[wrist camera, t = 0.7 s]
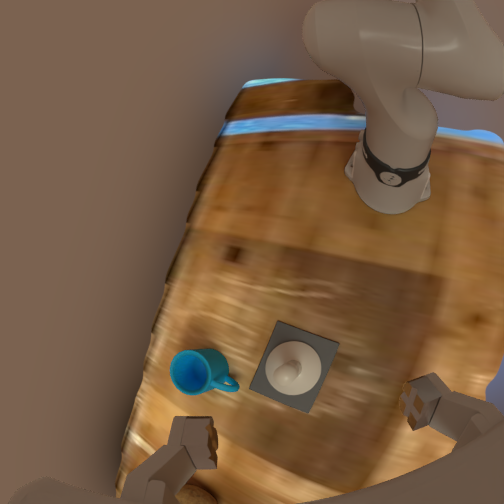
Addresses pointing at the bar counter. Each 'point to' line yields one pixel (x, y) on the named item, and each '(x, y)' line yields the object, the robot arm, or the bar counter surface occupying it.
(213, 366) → the mug
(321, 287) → the bar counter surface
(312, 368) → the white post stand
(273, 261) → the bar counter surface
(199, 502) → the potato
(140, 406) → the bar counter surface
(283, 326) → the mat
